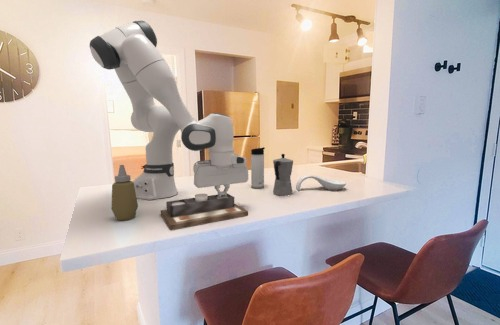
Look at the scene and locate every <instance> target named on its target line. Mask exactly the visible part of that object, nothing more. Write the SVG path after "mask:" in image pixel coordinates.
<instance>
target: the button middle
mask: <svg viewBox="0 0 500 325" xmlns="http://www.w3.org/2000/svg"><path fill="white" fill-rule="evenodd" d="M208 196H209V195H208V194H207V193H197V194H195V195H194V198H195V201H196V202H201V201H208Z"/></svg>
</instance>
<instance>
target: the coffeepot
mask: <svg viewBox="0 0 500 325" xmlns="http://www.w3.org/2000/svg"><path fill="white" fill-rule="evenodd" d="M280 155H281V157H280V158H276V159H273V160H272V163H273V170H274V171H273V172H274V175H275V177H274V178H275V179H274V185H273V190H272V191H273V192H272V193H273V195H275V196H277V197H288V195H289V196H292V195H293V189H292V188H293V185H292V180H291V176H292V172H293V167H294V165H293V164H294V160H293V159H290V158H285V155H286V154H285V153H281V154H280Z"/></svg>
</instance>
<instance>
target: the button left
mask: <svg viewBox="0 0 500 325" xmlns="http://www.w3.org/2000/svg"><path fill="white" fill-rule="evenodd" d="M180 204H185V203H184V202H175V203H172V206H174V205H180Z"/></svg>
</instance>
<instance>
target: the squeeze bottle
mask: <svg viewBox="0 0 500 325" xmlns="http://www.w3.org/2000/svg"><path fill="white" fill-rule="evenodd" d="M138 208H139V205H138V198H136V192H135V187H134V183H133V181H132V180H131V175H130V174H127V171H126V168H125V165H124V164H120V165H119V168H118V174H117V175H115V176H114V183H112V186H111V211H112V214H113V215H114V218H115V219H116V220H117V221H126V220H131V219H133V218H135V217H136V213H137V212H138V211H137V210H138Z"/></svg>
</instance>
